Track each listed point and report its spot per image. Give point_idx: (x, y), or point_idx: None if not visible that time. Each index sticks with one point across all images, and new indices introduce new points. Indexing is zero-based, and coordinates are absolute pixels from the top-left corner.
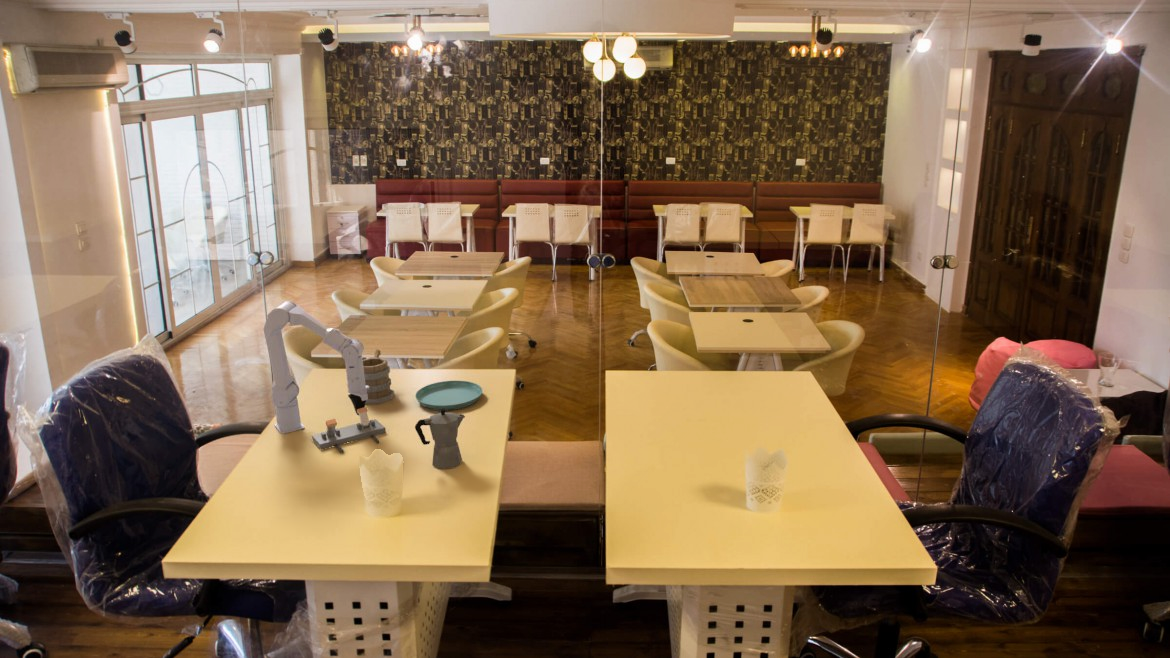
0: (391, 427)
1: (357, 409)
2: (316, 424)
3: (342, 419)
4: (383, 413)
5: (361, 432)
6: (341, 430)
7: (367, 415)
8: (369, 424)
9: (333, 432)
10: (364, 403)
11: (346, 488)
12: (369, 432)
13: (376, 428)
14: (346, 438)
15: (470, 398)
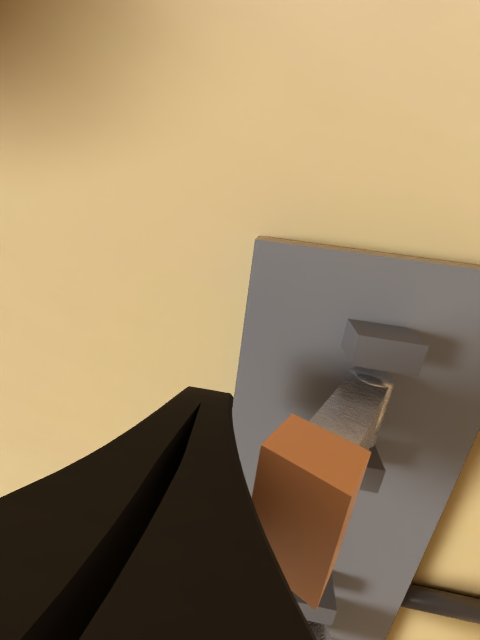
0: (434, 157)
1: (291, 586)
2: (3, 494)
3: (4, 366)
4: (53, 39)
5: (431, 473)
6: None
7: (368, 425)
8: (392, 385)
9: (323, 633)
10: (252, 518)
11: None
12: (475, 422)
13: (476, 350)
14: (412, 566)
15: None
